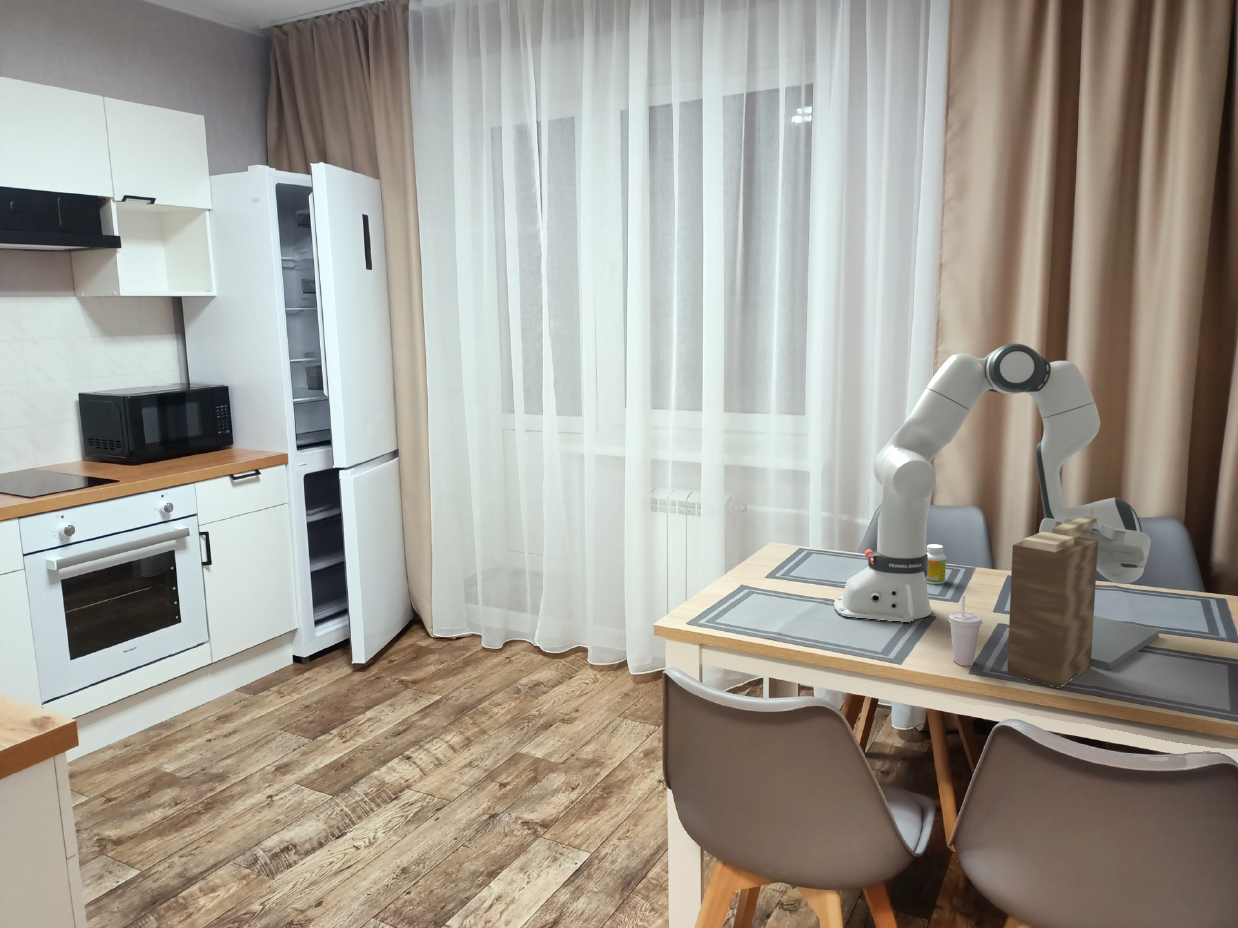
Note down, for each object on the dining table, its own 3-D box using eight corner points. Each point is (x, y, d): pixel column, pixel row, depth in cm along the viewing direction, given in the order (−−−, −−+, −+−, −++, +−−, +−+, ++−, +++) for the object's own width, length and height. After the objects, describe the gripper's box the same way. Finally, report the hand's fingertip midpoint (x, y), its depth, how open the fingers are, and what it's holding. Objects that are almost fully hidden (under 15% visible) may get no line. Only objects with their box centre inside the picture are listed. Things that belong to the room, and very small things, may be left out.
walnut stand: (1039, 654, 184) (1045, 531, 180) (1090, 668, 176) (1098, 540, 172) (1007, 673, 175) (1012, 544, 171) (1059, 688, 167) (1066, 554, 163)
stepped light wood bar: (1075, 525, 184) (1075, 514, 183) (1106, 530, 179) (1106, 518, 179) (1023, 546, 169) (1023, 534, 169) (1055, 552, 165) (1056, 539, 164)
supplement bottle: (942, 585, 231) (943, 549, 230) (921, 583, 234) (922, 547, 233) (947, 580, 236) (948, 544, 234) (926, 577, 239) (927, 542, 237)
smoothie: (941, 657, 184) (943, 591, 182) (971, 655, 185) (974, 590, 182) (955, 669, 178) (958, 601, 175) (986, 667, 178) (989, 599, 176)
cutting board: (1081, 619, 204) (1081, 612, 203) (1158, 636, 192) (1159, 630, 191) (1028, 649, 187) (1028, 642, 187) (1109, 670, 175) (1110, 662, 175)
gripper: (1056, 524, 195) (1032, 502, 187) (1160, 540, 180) (1139, 516, 171) (1049, 551, 194) (1024, 530, 186) (1152, 569, 179) (1131, 547, 170)
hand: (1080, 524), depth 178 cm, fingers open, 5 cm apart
